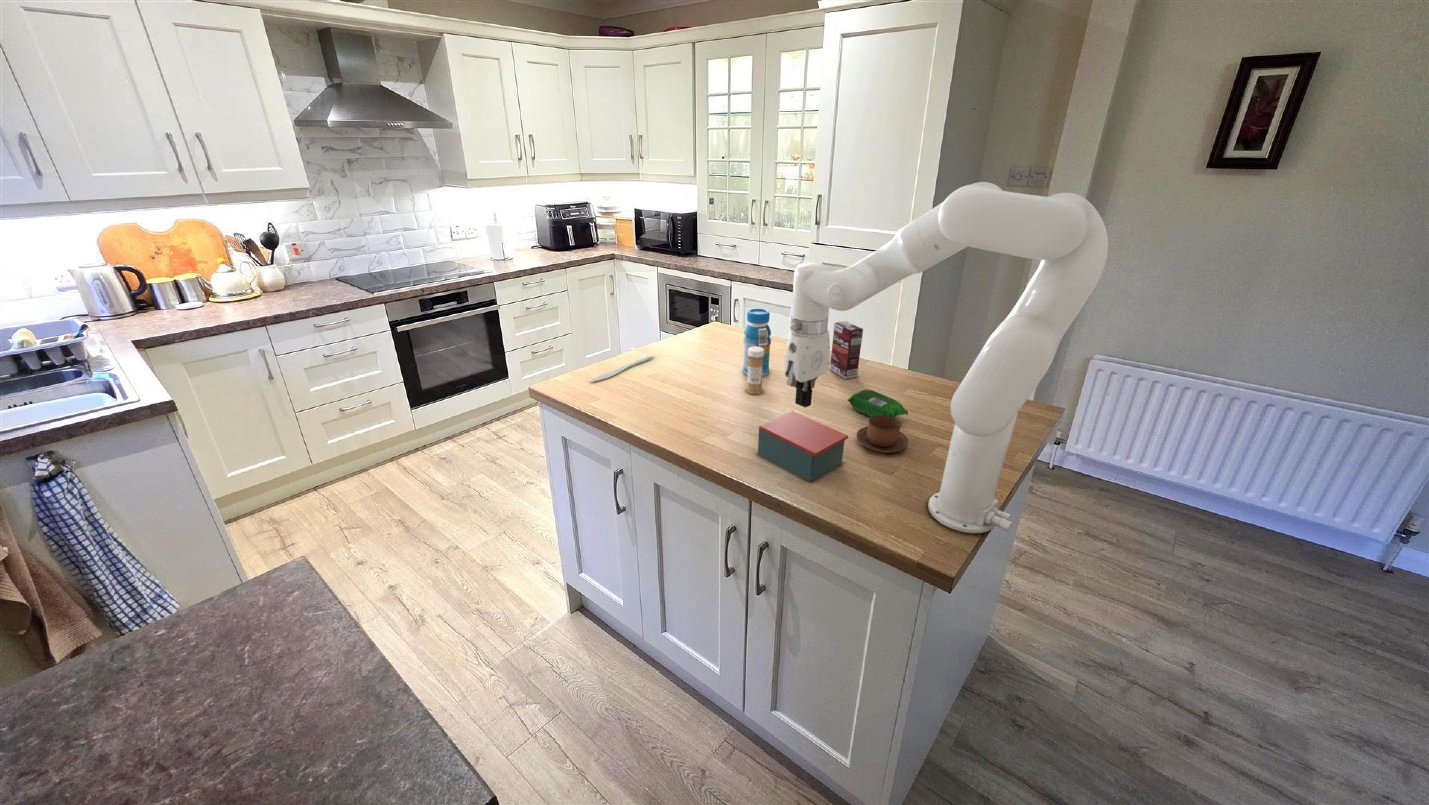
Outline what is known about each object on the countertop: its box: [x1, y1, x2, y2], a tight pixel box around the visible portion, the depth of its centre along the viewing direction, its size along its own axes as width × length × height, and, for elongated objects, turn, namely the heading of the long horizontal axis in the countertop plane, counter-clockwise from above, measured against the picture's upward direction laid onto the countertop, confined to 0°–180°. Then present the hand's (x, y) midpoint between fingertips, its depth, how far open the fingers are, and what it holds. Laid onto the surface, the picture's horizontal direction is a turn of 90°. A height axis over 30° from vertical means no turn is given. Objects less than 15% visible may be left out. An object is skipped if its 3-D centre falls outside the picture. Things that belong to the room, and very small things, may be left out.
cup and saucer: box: [856, 415, 909, 454], centre depth 132 cm, size 12×12×6 cm
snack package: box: [847, 388, 909, 419], centre depth 147 cm, size 7×16×5 cm, turn 35°
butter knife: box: [590, 355, 654, 383], centre depth 176 cm, size 1×27×3 cm
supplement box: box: [829, 320, 864, 380], centre depth 170 cm, size 9×5×16 cm, turn 25°
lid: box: [758, 410, 849, 456], centre depth 124 cm, size 16×12×1 cm
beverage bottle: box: [742, 307, 772, 377], centre depth 170 cm, size 8×8×20 cm
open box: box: [757, 428, 846, 483], centre depth 126 cm, size 16×12×7 cm
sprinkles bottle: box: [746, 346, 764, 395], centre depth 158 cm, size 5×5×13 cm
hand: (803, 404), depth 122 cm, fingers closed
